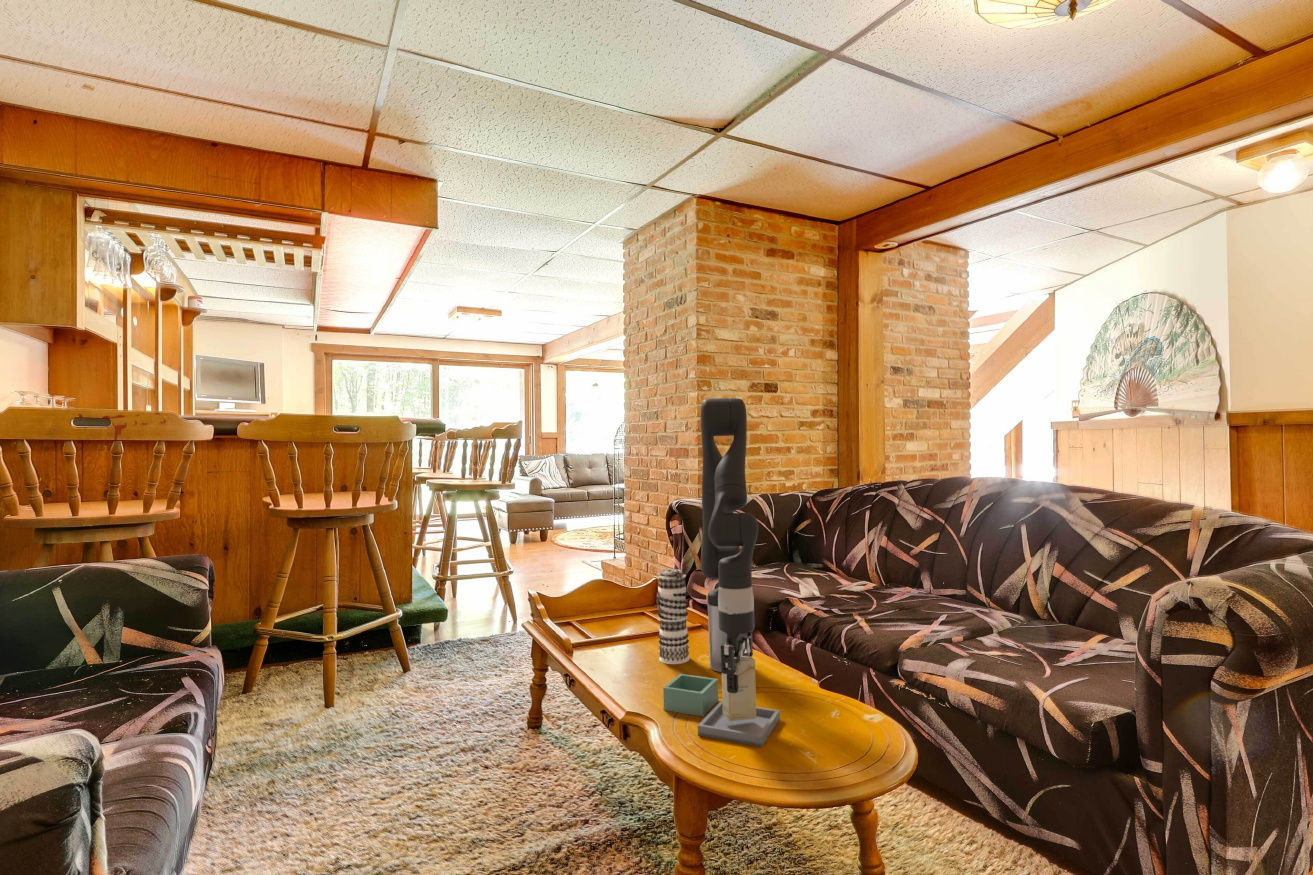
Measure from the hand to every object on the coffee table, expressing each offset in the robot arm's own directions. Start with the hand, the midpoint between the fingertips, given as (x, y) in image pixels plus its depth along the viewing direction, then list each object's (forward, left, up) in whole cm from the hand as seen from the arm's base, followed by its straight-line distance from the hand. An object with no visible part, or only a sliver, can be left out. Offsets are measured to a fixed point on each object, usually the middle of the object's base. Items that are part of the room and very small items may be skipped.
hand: (738, 685), depth 133 cm
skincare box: (0, 0, -7) cm, 7 cm away
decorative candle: (-35, -31, -9) cm, 48 cm away
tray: (0, 0, -9) cm, 9 cm away
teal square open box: (-7, -14, -9) cm, 18 cm away
